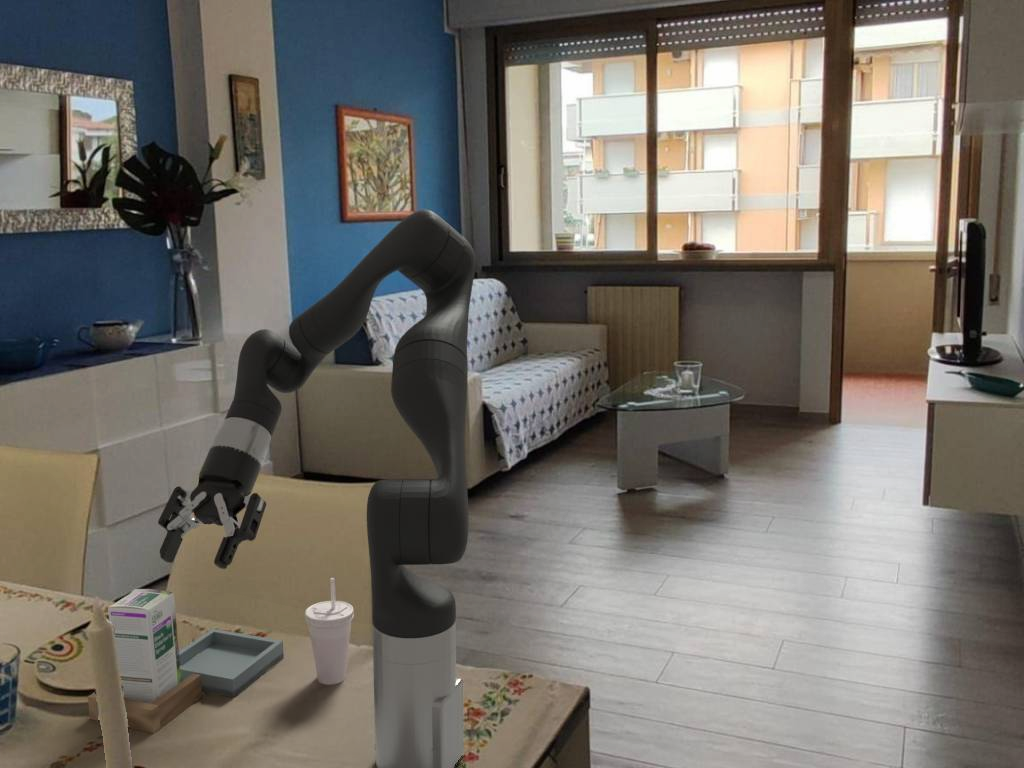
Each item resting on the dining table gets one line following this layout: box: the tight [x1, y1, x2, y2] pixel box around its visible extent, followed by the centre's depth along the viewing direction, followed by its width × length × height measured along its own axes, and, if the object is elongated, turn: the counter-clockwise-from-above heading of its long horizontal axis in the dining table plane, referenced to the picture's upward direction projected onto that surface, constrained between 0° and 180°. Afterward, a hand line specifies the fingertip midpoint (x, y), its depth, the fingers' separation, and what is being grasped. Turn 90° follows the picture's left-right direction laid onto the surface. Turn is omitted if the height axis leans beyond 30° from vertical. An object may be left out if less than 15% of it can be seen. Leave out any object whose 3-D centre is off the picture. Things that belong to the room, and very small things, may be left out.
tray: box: [179, 628, 285, 698], centre depth 131 cm, size 12×12×2 cm
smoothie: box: [304, 577, 355, 686], centre depth 128 cm, size 6×6×14 cm
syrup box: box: [107, 588, 182, 704], centre depth 121 cm, size 6×6×14 cm
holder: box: [87, 674, 203, 734], centre depth 122 cm, size 10×9×3 cm
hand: (192, 563), depth 128 cm, fingers open, 8 cm apart
